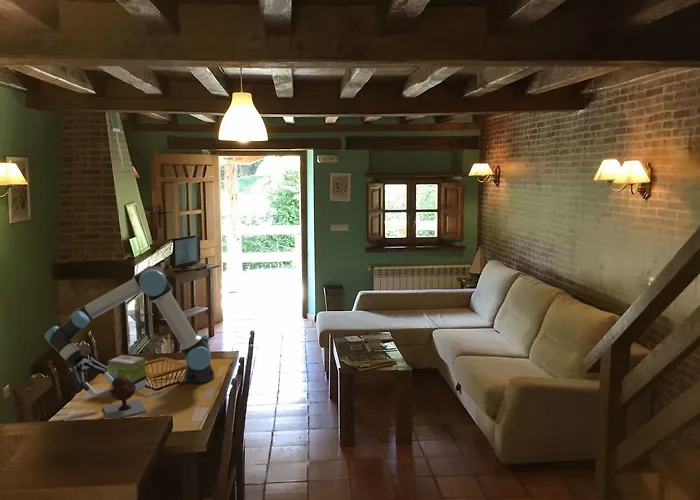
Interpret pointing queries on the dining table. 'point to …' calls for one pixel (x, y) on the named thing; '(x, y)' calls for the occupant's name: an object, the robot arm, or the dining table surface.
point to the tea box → (129, 369)
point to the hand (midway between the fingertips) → (104, 389)
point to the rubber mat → (115, 413)
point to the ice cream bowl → (122, 391)
